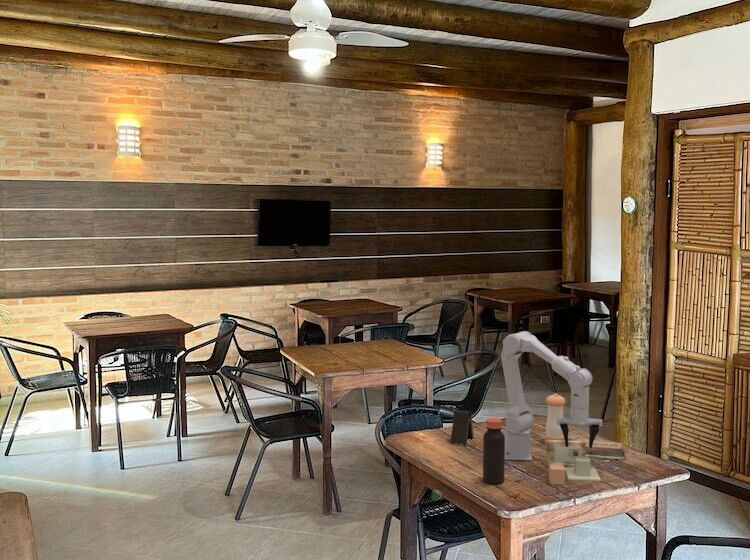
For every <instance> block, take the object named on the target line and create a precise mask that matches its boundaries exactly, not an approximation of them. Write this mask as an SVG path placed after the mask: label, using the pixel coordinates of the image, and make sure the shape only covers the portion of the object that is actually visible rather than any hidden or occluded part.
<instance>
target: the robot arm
mask: <svg viewBox="0 0 750 560" xmlns="http://www.w3.org/2000/svg"><path fill="white" fill-rule="evenodd" d="M524 352H525V353H528V352H529V353H534V354H535V355H536V356H538V357H539V358H541V359H543V360H544V361H546V362H548V364H551V369H552V371H554V372H555V373H557V374H558V375H560V376H561V377H562V378H563V379H564V380H566V381H567V382H568V385H569V387H570V416H569V417H563V418H556V424H557V425H560V427H561V429H562V432H563V435H564V439H565V446H566V447H568V441H569V431H570V428H569V426H589V429H588V430H589V436H588V437H589V438H588V440H589V447H590V448H592V445H593V442H594V440H596V436H598V433H599V431H600V427H603V419H601V418H600V419H599V418H592V417H589V407H590V405H589V404H590V385H591V384H592V383H593V374H592V373H591V372H590V371H589V370H588V369H587V368H581V366H580V365H576V364H575V363H573V362H572V361H570V359H569V357H568V356H567V355H566V356H564V355H556V354H555V353H554V352H553V351H552V350H551V349H550V348H548V347H547V346H546V345H544V343H542V342H541V341H540V340H539V339H538V338H537V337H536V336H535V335H533V334H532V333H530V332H529V331H526V330H523V331H519V332H517V333H510V334H508V335H507V336H506V337H505V338H504V339H503V340H502V351H501V355H500V359H501V365H502V370H503V375H504V377H503V378H504V381H505V382H504V383H505V386H506V387H505V388H506V393H507V400H508V404H509V407H508V408H507V410H506V412H505V415H506V420H505V427H506V428H505V429H507V431H503V434H504V436H505V461H506V460H510V461H533V457H532V454H531V430H532V427H533V426H534V424H535V418H534V415H533V414H532V412H531V408H530V406H528V405H527V404H526V402H525V401H526V400H525V395H524V389H523V385H522V384H523V383H522V378H521V377H522V376H521V373H520V367H519V361H518V359H519V358H520V357H521V356H522V354H524Z"/></svg>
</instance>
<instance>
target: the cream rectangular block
mask: <svg viewBox="0 0 750 560" xmlns="http://www.w3.org/2000/svg"><path fill="white" fill-rule="evenodd" d="M575 456H581V457H582V448H581V446H580V445H571V444H568V447H566V446H565V444H553V460H554V462H558V463H574V461H575Z"/></svg>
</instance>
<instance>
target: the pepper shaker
mask: <svg viewBox="0 0 750 560" xmlns="http://www.w3.org/2000/svg"><path fill="white" fill-rule="evenodd" d="M545 403H546V404H547V417H546V423H545V434H544V445H545V446H546V442H547V440H562V441H565V439H564V435H563V432H562V429H561V427H560V425H557V424H556V418H564V406H565V405H566V399H565V398H564V397H563V396H562V395H559V394H558V393H554V394H551V395H548V396H547V397H546V399H545Z"/></svg>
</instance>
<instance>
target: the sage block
mask: <svg viewBox="0 0 750 560" xmlns="http://www.w3.org/2000/svg"><path fill="white" fill-rule="evenodd" d="M590 468H591V458H589V457H581V456H575V461H574V471H575V474H576V476H590Z"/></svg>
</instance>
